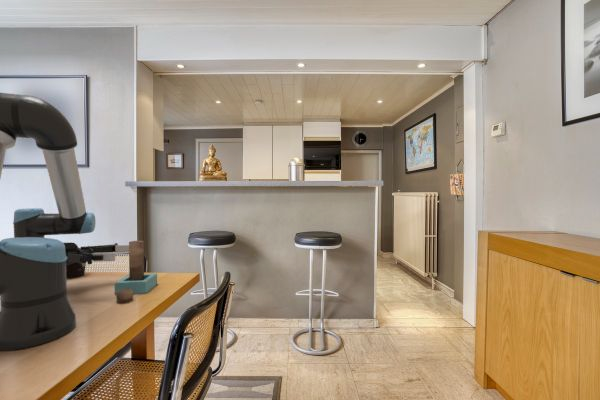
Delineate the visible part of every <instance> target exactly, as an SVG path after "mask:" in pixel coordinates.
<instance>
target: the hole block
mask: <svg viewBox="0 0 600 400" xmlns="http://www.w3.org/2000/svg"><path fill="white" fill-rule="evenodd" d="M156 284H157V285H158V273H144V280H140V281H129V274H127V275H126V276H124V277H121V278H120V279H119V280H117V281H115V282H114V295H115V296H116V292H117V291H119V290H122V289H133V295H136V294H137V295H138V294H139V295H140V294H147V293H149V292H150V291H151V290H152V289H153V288H154V287H156V286H157V285H156Z"/></svg>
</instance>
